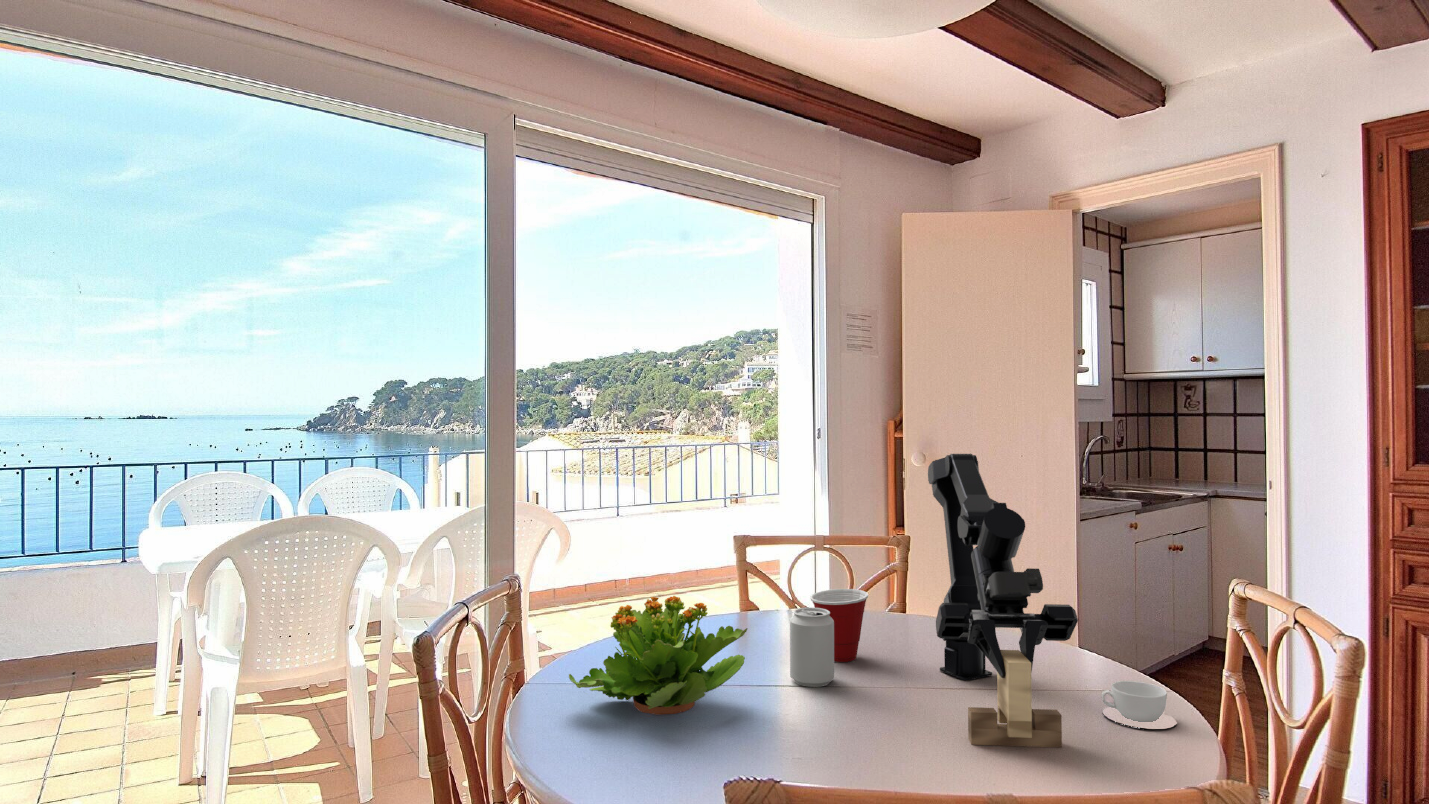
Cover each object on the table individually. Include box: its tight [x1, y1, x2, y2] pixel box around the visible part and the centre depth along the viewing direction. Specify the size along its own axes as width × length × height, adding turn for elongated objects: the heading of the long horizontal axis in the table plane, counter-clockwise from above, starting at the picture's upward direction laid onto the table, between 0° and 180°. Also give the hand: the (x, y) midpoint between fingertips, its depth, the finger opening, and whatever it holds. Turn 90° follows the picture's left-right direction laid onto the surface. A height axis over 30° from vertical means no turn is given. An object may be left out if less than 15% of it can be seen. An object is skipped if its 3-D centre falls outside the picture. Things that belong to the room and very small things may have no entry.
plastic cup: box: [809, 588, 869, 663], centre depth 154 cm, size 11×11×12 cm
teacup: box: [1101, 680, 1168, 729], centre depth 123 cm, size 10×10×5 cm
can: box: [789, 607, 835, 688], centre depth 141 cm, size 8×8×12 cm
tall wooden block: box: [996, 649, 1033, 738], centre depth 114 cm, size 6×3×10 cm, turn 175°
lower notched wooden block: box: [967, 706, 1063, 748], centre depth 114 cm, size 12×2×4 cm, turn 85°
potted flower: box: [568, 595, 748, 716], centre depth 130 cm, size 25×24×18 cm
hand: (1016, 676), depth 113 cm, fingers closed on tall wooden block, 3 cm apart
